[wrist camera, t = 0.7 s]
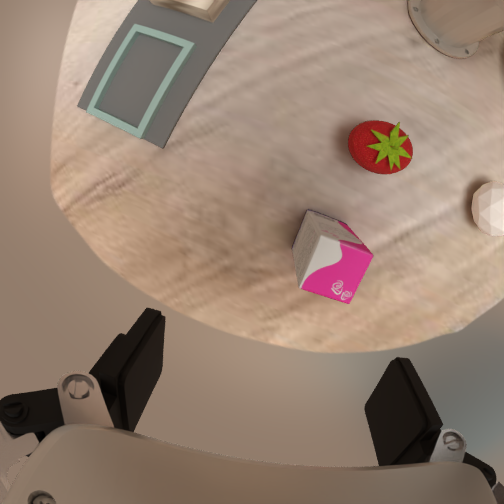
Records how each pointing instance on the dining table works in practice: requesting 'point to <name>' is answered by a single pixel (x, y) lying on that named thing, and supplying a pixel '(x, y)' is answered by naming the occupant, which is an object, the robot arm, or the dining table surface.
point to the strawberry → (380, 147)
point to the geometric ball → (489, 208)
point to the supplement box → (329, 257)
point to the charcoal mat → (161, 64)
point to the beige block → (195, 7)
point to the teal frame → (161, 92)
